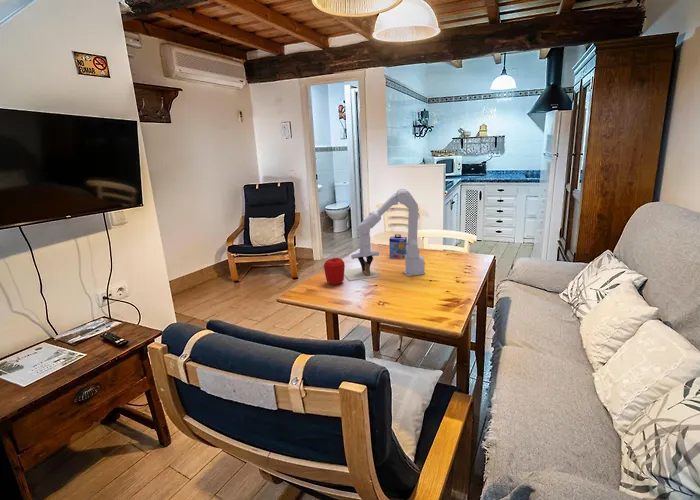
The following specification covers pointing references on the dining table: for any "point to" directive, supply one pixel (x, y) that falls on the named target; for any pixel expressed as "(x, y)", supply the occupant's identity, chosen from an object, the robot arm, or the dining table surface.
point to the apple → (334, 270)
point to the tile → (366, 269)
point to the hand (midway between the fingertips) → (365, 270)
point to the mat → (358, 274)
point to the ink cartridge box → (398, 247)
